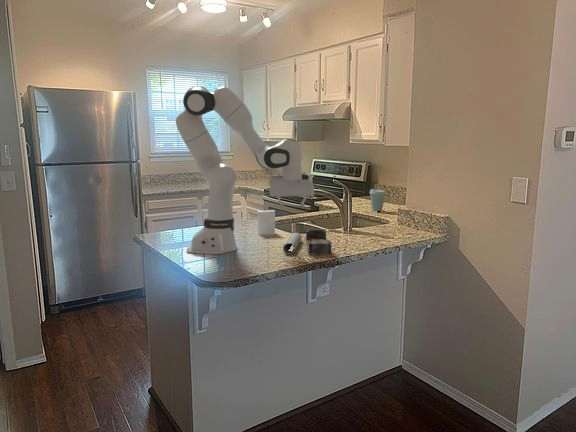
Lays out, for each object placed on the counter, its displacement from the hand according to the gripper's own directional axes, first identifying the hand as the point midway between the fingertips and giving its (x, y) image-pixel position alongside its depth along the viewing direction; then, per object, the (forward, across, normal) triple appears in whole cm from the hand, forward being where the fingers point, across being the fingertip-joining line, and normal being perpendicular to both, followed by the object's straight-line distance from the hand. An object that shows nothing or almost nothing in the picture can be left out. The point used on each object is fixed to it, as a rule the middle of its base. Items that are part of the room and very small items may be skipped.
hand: (291, 205), depth 196 cm
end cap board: (+19, +12, 0) cm, 23 cm away
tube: (+20, 0, 0) cm, 20 cm away
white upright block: (+19, -13, +28) cm, 36 cm away
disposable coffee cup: (+20, +58, +94) cm, 113 cm away
